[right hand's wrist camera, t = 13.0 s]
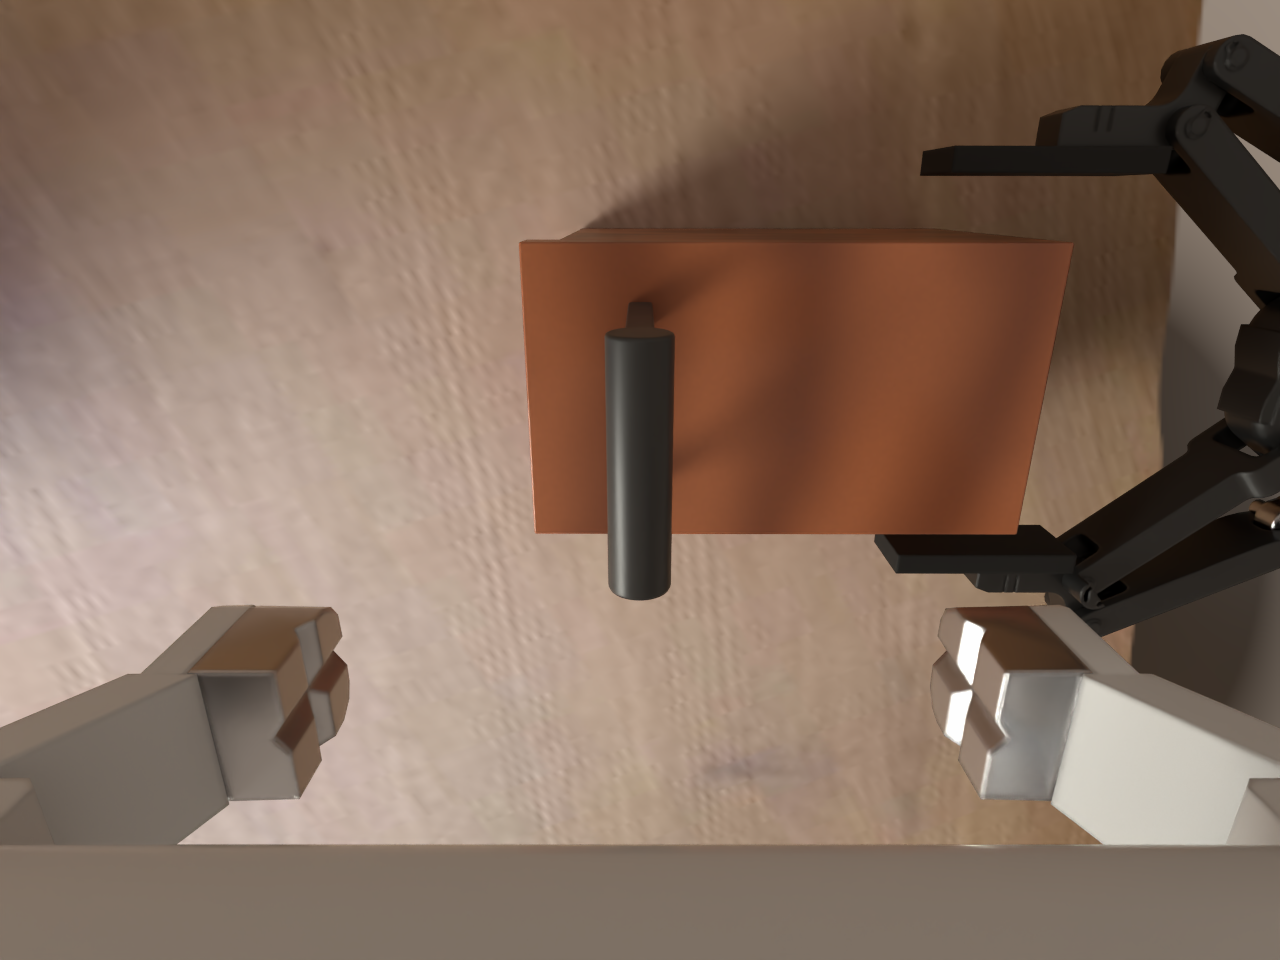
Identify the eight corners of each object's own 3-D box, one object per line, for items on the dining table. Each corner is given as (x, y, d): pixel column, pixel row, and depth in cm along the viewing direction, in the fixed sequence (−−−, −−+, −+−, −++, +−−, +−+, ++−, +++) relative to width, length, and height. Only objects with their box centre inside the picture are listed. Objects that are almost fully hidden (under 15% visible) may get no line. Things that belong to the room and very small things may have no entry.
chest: (586, 436, 34) (567, 518, 26) (581, 228, 31) (557, 239, 22) (907, 436, 34) (998, 518, 25) (934, 228, 31) (1051, 240, 22)
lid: (539, 518, 25) (494, 657, 18) (525, 239, 22) (462, 260, 15) (999, 519, 25) (1155, 658, 18) (1051, 239, 22) (1270, 261, 14)
